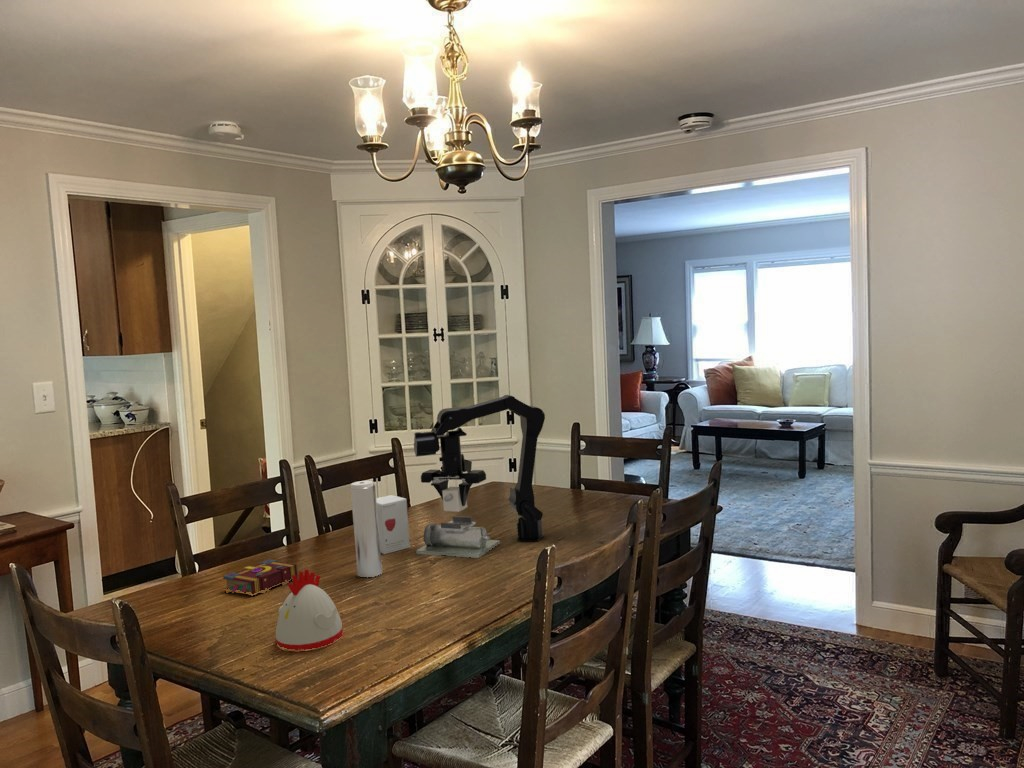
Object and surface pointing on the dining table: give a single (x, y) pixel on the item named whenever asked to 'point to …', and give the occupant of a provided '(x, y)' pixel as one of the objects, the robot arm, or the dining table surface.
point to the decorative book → (260, 576)
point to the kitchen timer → (307, 616)
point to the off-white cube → (452, 499)
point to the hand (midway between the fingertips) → (455, 505)
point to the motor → (457, 539)
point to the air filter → (366, 529)
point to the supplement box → (392, 523)
